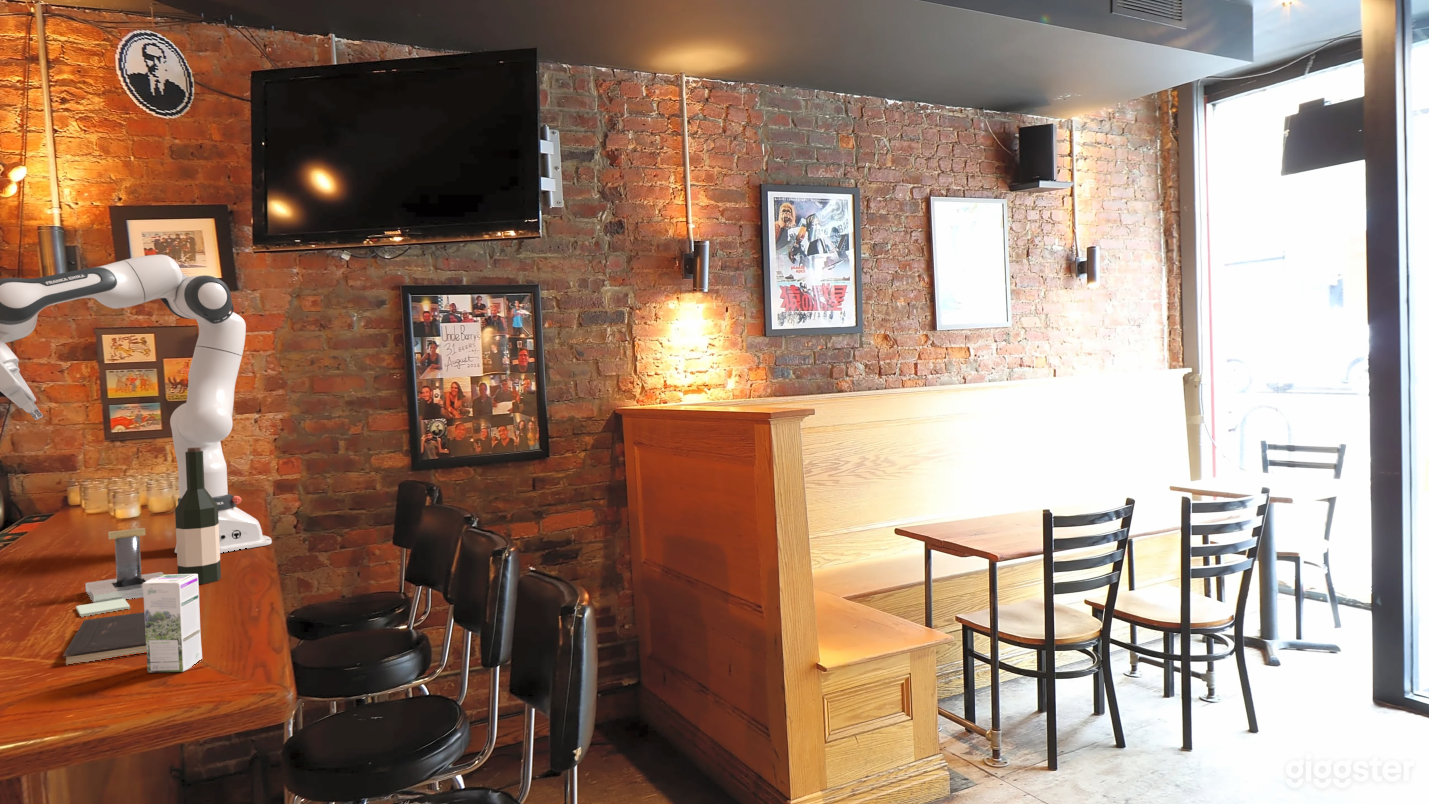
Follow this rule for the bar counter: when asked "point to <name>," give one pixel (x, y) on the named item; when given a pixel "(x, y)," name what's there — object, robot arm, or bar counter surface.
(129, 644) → the hardcover book
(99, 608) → the coaster
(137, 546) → the t key
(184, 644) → the syrup box
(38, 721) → the bar counter surface
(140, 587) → the plate
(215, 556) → the wine bottle
